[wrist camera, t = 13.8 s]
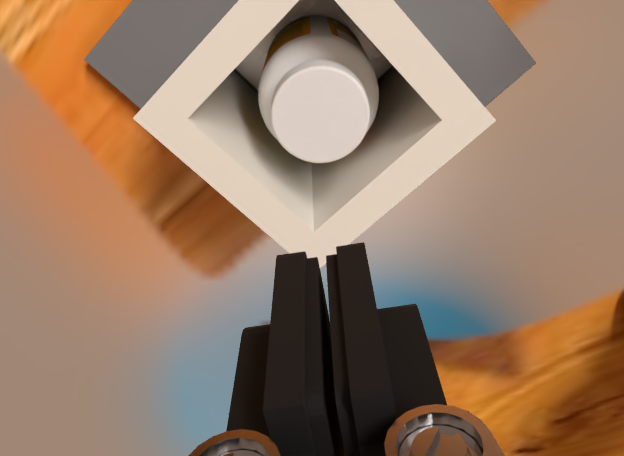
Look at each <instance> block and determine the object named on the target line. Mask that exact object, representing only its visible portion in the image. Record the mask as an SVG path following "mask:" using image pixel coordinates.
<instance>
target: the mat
mask: <svg viewBox="0 0 624 456" xmlns="http://www.w3.org/2000/svg"><path fill="white" fill-rule="evenodd" d="M334 1H335V0H334ZM394 1H395V2H396V4H397V5H398V6H399V7H400V8H401V9H402V11H403V12H404V13H405V14H406V15H407V17H408V18H409V19H410V20H411V21H412V22H413V24H414V25H415V26H416V27H417V28H418V29H419V31H420V32H421V33H422V34H423V35H424V36H425V38H426V39H427V40H428V41H429V42H430V43H431V45H432V46H433V47H434V48H435V49H436V51H437V52H438V53H439V54H440V55H441V56H442V58H443V59H444V60H445V61H446V62H447V63H448V65H449V66H450V67H451V68H452V69H453V70H454V72H455V73H456V74H457V75H458V76H459V77H460V79H461V80H462V81H463V82H464V83H465V85H466V86H467V87H468V88H469V89H470V90H471V92H472V93H473V94H474V95H475V96H476V97H477V99H478V100H479V101H480V102H481V103H482V104H483V106H484V107H485V106H486V105H488V104H489V103H490V102H491V101H492V100H493V99H495V98H496V97H497V96H498V95H499V94H501V93H502V92H503V91H504V90H505V89H506V88H508V87H509V86H510V85H511V84H512V83H513V82H515V81H516V80H517V79H518V78H519V77H520V76H522V75H523V74H524V73H525V72H526V71H527V70H529V69H530V68H531V67H532V66H533V65H534V64H536V62H535V61H534V60H533V58H532V57H531V56H530V55H529V53H528V52H527V51H526V49H525V48H524V47H523V46H522V44H521V43H520V42H519V41H518V39H517V38H516V37H515V35H514V34H513V33H512V31H511V30H510V29H509V28H508V26H507V25H506V24H505V22H504V21H503V20H502V19H501V17H500V16H499V15H498V14H497V12H496V11H495V10H494V8H493V7H492V6H491V5H490V3H489V2H488V1H487V0H394ZM237 2H238V0H132V2H131V3H130V4H129V5H128V7H127V8H126V9H125V10H124V11H123V13H122V14H121V15H120V16H119V17H118V19H117V20H116V21H115V22H114V24H113V25H112V26H111V27H110V28H109V30H108V31H107V32H106V33H105V35H104V36H103V37H102V38H101V39H100V41H99V42H98V43H97V44H96V46H95V47H94V48H93V49H92V50H91V52H90V53H89V54H88V55H87V56H86V58H85V59H84V60H85V61H86V62H87V63H88V64H90V65H91V66H92V67H93V68H94V69H95V70H96V71H98V72H99V73H100V74H101V75H102V76H103V77H104V78H106V79H107V80H108V81H109V82H110V83H111V84H112V85H114V86H115V87H116V88H117V89H118V90H119V91H120V92H122V93H123V94H124V95H125V96H126V97H127V98H128V99H130V100H131V101H132V102H133V103H134V104H135V105H136V106H138V107H139V108H140V109H142V107H143V106H144V105H145V104H146V103H147V102H148V101H149V100H150V99H151V97H152V96H153V95H154V94H155V93H156V92H157V91H158V90H159V88H160V87H161V86H162V85H163V84H164V83H165V82H166V81H167V80H168V78H169V77H170V76H171V75H172V74H173V73H174V72H175V71H176V70H177V68H178V67H179V66H180V65H181V64H182V63H183V62H184V61H185V60H186V58H187V57H188V56H189V55H190V54H191V53H192V52H193V51H194V50H195V48H196V47H197V46H198V45H199V44H200V43H201V42H202V41H203V39H204V38H205V37H206V36H207V35H208V34H209V33H210V32H211V31H212V29H213V28H214V27H215V26H216V25H217V24H218V23H219V22H220V21H221V19H222V18H223V17H224V16H225V15H226V14H227V13H228V12H229V11H230V9H231V8H232V7H233V6H234V5H235V4H236V3H237ZM335 2H336V1H335ZM339 7H340V6H339ZM340 8H341V7H340ZM341 9H342V8H341ZM342 10H343V9H342ZM343 11H344V10H343ZM347 16H348V15H347ZM348 17H349V16H348ZM349 18H350V17H349ZM350 19H351V18H350ZM351 20H352V19H351ZM352 21H353V20H352ZM356 26H357V25H356ZM357 27H358V26H357ZM358 28H359V27H358ZM359 29H360V28H359ZM360 30H361V29H360ZM361 31H362V30H361ZM365 36H366V35H365ZM366 37H367V36H366ZM367 38H368V37H367ZM368 39H369V38H368ZM369 40H370V39H369ZM370 41H371V40H370ZM374 46H375V45H374ZM375 47H376V46H375ZM376 48H377V47H376ZM377 49H378V48H377ZM378 50H379V49H378ZM379 51H380V50H379ZM383 56H384V55H383ZM384 57H385V56H384ZM385 58H386V57H385ZM386 59H387V58H386ZM387 60H388V59H387ZM388 61H389V60H388ZM390 64H391V63H390ZM391 65H392V64H391ZM393 67H394V66H393V65H392V66H391V67H390V68H389V69H388V70H387V71H386V72H385V73H384V74H383V75H382V76H381V77H379V78H378V79H377V82H379V81H380V80H381V79H382V78H383V77H384V76H385V75H386V74H387V73H388V72H389V71H390V70H391V69H392V68H393ZM234 71H235V72H236V73H237V74H238V75H239V76H240V77H241V78H242V79H243V80H244V81H245V82H246V83H247V84H248V85H249V86H250V87H251V88H252V89H253V90H254V91H255V92H256V93H257V94H258V90H257V89H256V88H255V87H254V86H253V85H252V84H251V83H250V82H249V81H248V80H247V79H246V78H245V77H244V76H243V75H242V74H241V73H240V72H239V71H237V70H236V69H234Z"/></svg>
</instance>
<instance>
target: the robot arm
mask: <svg viewBox="0 0 624 456" xmlns="http://www.w3.org/2000/svg"><path fill="white" fill-rule="evenodd" d="M336 252H337V254H334V255H327V256H326V264H327V281H328V295H329V312H330V321H329V315H328V310H327V304H326V299H325V294H324V288H323V283H322V277H321V272H320V267H319V262H318V258H317V257H314V258H307V255H306V252H305V251H303V252H297V253H290V254H284V255H278V256H277V258H276V267H275V279H274V290H273V301H272V313H271V323H270V325H263V326H255V327H248V328H245V329H244V330H243V332H242V337H241V343H240V349H239V356H238V362H237V368H236V374H235V381H234V388H233V393H232V399H231V406H230V412H229V419H228V426H227V431H226V432H224V433H221V434H219V435H216V436H213V437H211V438H209V439H208V440H206V441H205V442H203V443H202V444H200V445H199V446H197V447H196V449H195V450H194V451H193V452H192V453H191V454H190V455H189V456H505V455H504V453H503V452H502V450H501V448H500V447H499V445H498V443H497V441H496V440H495V438H494V436H493V435H492V433H491V431H490V430H489V429H488V428H487V426H486V425H485V424H484V423H483V422H482V420H480V419H479V418H478V417H476V416H475V415H473V414H472V413H470V412H469V411H466V410H463V409H460V408H458V407H455V406H450V405H447V403H446V400H445V397H444V393H443V390H442V387H441V383H440V380H439V377H438V373H437V370H436V367H435V363H434V360H433V357H432V353H431V350H430V347H429V343H428V340H427V337H426V333H425V330H424V327H423V323H422V320H421V317H420V313H419V310H418V307H417V305H416V304H411V305H404V306H397V307H390V308H383V309H377V308H376V302H375V297H374V292H373V286H372V281H371V276H370V270H369V266H368V260H367V255H366V249H365V245H364V243H357V244H351V245H343V246H337V247H336Z"/></svg>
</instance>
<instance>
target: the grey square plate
mask: <svg viewBox="0 0 624 456" xmlns="http://www.w3.org/2000/svg"><path fill="white" fill-rule="evenodd" d="M314 15H317V16H326V17H330V18H333V19H335V20H337V21H339V22H341V23H342V24H344V25H345V26H347V27H348V28H349V29H350V30H351V31H352V32H353V33H354V34H355V36H356V37H357V39H358V40H359V42H360V44H361V46H362V47H363V49H364V51H365V53H366V55H367V57H368V59H369V61H370V63H371V65H372V67H373V69H374V72H375V75H376V78H377V79H378V78H379V77H381V76H382V75H383V74H384V73H385V72H386V71H387V70H388V69H389V68H390V67H391V66H392V65H391V64H390V62H389V61H388V60H387V59H386V58H385V57H384V56H383V54H382V53H381V52H380V51H379V50H378V49H377V48H376V47H375V46H374V44H373V43H372V42H371V41H370V40H369V39H368V38H367V37H366V36H365V34H364V33H363V32H362V31H361V30H360V29H359V28H358V27H357V26H356V24H355V23H354V22H353V21H352V20H351V19H350V18H349V17H348V16H347V14H346V13H345V12H344V11H343V10H342V9H341V8H340V7H339V5H338V4H337V3H336V2H335V1H334V0H299V1H298V2H297V3H296V4H295V5H294V6H293V7H292V9H291V10H290V11H289V12H288V13H287V14H286V15H285V16H284V17H283V18H282V19H281V20H280V21H279V22H278V23H277V24H276V26H275V27H274V28H273V29H272V30H271V31H270V32H269V33H268V34H267V35H266V36H265V37H264V38H263V39H262V40H261V41H260V42H259V44H258V45H257V46H256V47H255V48H254V49H253V50H252V51H251V52H250V53H249V54H248V55H247V56H246V57H245V58H244V59H243V61H242V62H241V63H240V64H239V65H238V66H237V67H236V68H235V69H236V70H237V71H239V72H240V73H241V74H242V75H243V76H244V77H245V78H246V79H247V80H248V81H249V82H250V83H251V84H252V85H253V86H254V87H255V88H256V89H257V90H258V88H259V82H260V78H261V74H262V70H263V67H264V64H265V60H266V56H267V53H268V50H269V47H270V45H271V43H272V41H273V40H274V38H275V37H276V35H277V34H278V33H279V32H280V31H281V30H282V29H283V28H284V27H285V26H286V25H288V24H289V23H291V22H293V21H295V20H297V19H299V18H302V17H306V16H314Z"/></svg>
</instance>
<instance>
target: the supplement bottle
mask: <svg viewBox="0 0 624 456" xmlns="http://www.w3.org/2000/svg"><path fill="white" fill-rule="evenodd" d="M258 101H259V108H260V112H261V115H262V117H263V120H264V122H265V124H266V126H267V128H268V129H269V131H270V132H271V134H272V135H273V136H274V137H275V138H276V139H277V140H278V141H279V143H280V144H281V145H282V147H283V148H285V149H286V150H287V151H288V152H289V153H290V154H292V155H293V156H295V157H297V158H299V159H301V160H304V161H307V162H312V163H327V162H332V161H336V160H339V159H341V158H343V157H345V156H346V155H348V154H350V153H351V152H352V151H353V150H354V149H355V148H356V147H357V146H358V145H359V144H360V143H361V141H362V140H363V138H364V136H365V134H366V133H367V131H368V130H369V128H370V127H371V125H372V123H373V121H374V119H375V116H376V113H377V109H378V103H379V88H378V82H377V78H376V75H375V72H374V69H373V67H372V65H371V63H370V61H369V59H368V57H367V55H366V53H365V51H364V49H363V47H362V46H361V44H360V42H359V40H358V39H357V37H356V36H355V34H354V33H353V32H352V31H351V30H350V29H349V28H348V27H347V26H345V25H344V24H342V23H341V22H339V21H337V20H335V19H333V18H330V17H326V16H317V15H314V16H306V17H302V18H299V19H297V20H295V21H293V22H291V23H289V24H288V25H286V26H285V27H284V28H283V29H282V30H281V31H280V32H279V33H278V34H277V35H276V37H275V38H274V40H273V41H272V43H271V45H270V47H269V50H268V53H267V56H266V60H265V64H264V67H263V70H262V74H261V78H260V82H259V88H258Z"/></svg>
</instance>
